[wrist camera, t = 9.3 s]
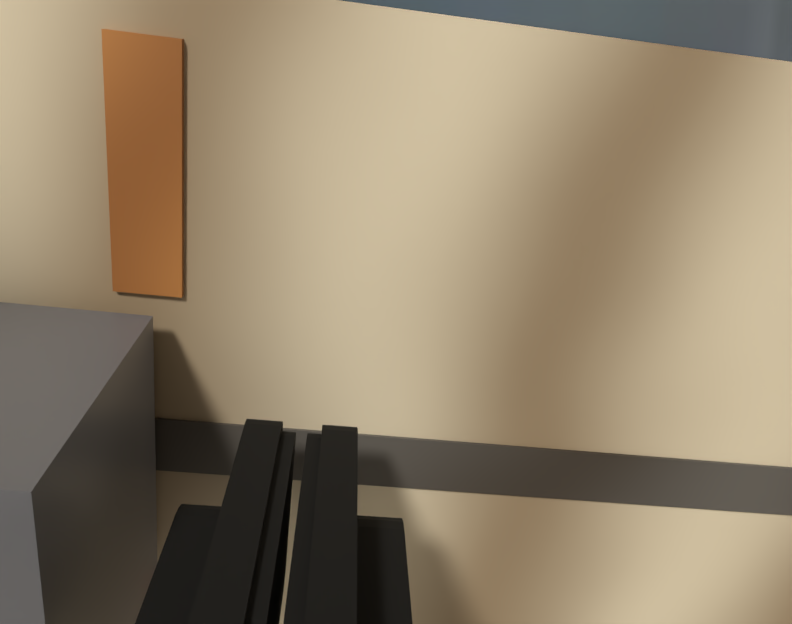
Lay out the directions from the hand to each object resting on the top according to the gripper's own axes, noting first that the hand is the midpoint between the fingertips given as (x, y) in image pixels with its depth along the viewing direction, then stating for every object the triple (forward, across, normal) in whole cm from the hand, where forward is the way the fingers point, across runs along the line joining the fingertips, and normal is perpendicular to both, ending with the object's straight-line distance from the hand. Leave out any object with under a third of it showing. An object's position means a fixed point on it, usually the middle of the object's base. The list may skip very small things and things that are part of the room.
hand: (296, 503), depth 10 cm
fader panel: (+4, -4, 0) cm, 6 cm away
